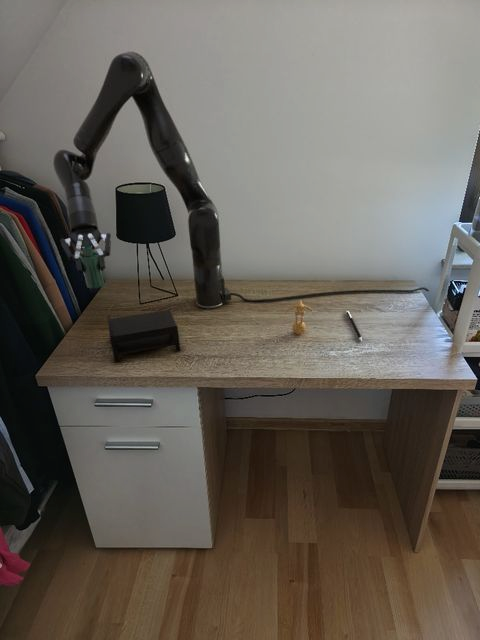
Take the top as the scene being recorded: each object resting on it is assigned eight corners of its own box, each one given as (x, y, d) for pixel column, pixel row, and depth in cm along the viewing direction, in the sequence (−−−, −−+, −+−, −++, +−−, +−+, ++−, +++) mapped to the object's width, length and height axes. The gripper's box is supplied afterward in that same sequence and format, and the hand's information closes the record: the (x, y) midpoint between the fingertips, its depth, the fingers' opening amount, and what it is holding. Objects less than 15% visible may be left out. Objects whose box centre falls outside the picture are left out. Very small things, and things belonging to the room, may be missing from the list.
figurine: (312, 330, 146) (313, 294, 139) (313, 340, 141) (315, 303, 134) (284, 329, 146) (285, 294, 140) (285, 340, 141) (285, 303, 134)
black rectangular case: (172, 329, 147) (169, 305, 143) (180, 351, 137) (177, 325, 132) (112, 339, 142) (107, 315, 138) (115, 362, 132) (109, 337, 128)
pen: (348, 312, 155) (348, 308, 154) (363, 342, 139) (363, 339, 138) (345, 312, 155) (345, 309, 154) (360, 342, 139) (360, 339, 138)
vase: (103, 280, 140) (95, 242, 134) (104, 287, 137) (96, 248, 130) (86, 282, 139) (77, 244, 133) (87, 289, 135) (77, 250, 129)
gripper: (52, 212, 132) (62, 269, 128) (106, 206, 135) (117, 262, 132) (58, 225, 139) (67, 280, 136) (109, 219, 142) (119, 272, 139)
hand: (92, 270), depth 134 cm, fingers closed on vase, 5 cm apart
